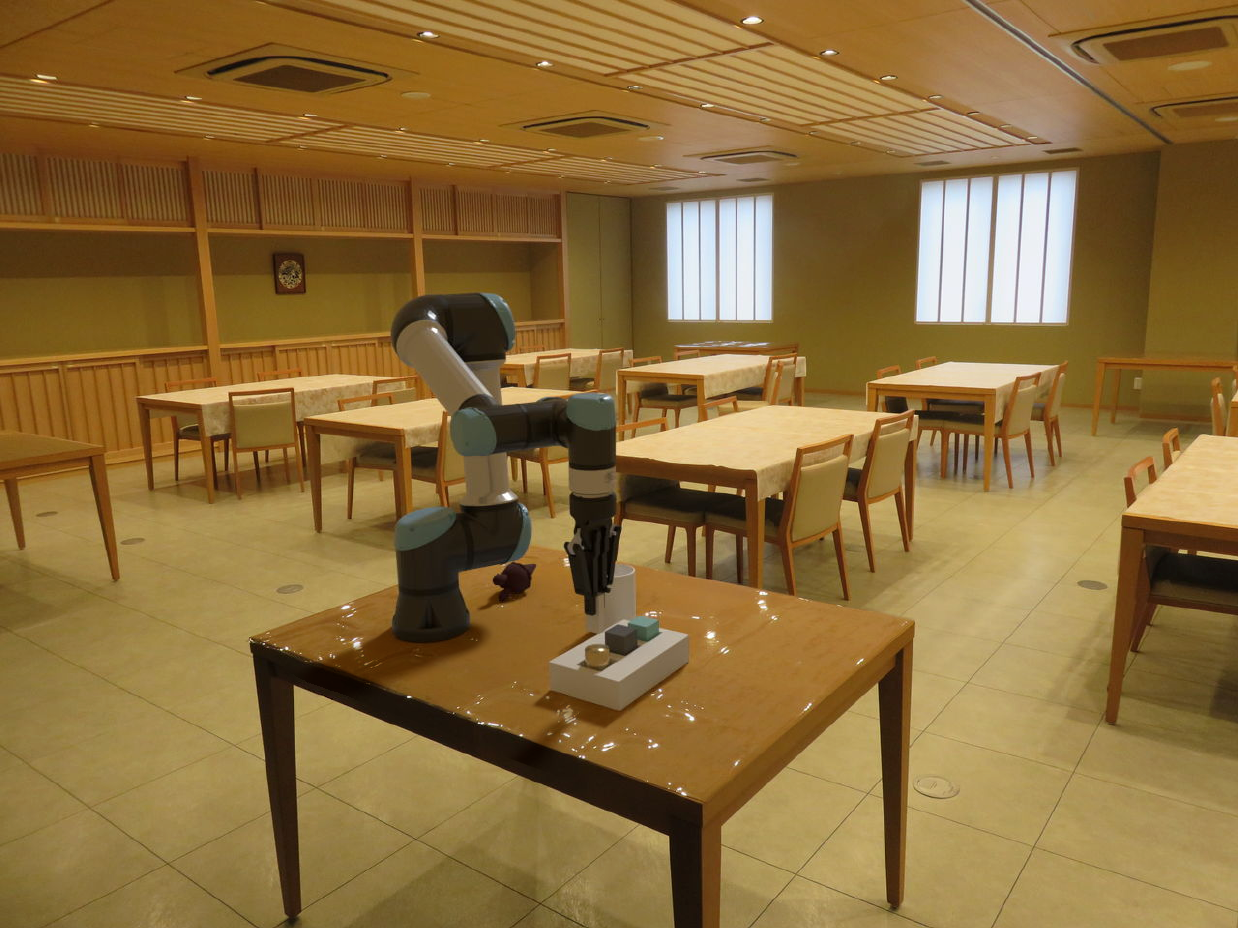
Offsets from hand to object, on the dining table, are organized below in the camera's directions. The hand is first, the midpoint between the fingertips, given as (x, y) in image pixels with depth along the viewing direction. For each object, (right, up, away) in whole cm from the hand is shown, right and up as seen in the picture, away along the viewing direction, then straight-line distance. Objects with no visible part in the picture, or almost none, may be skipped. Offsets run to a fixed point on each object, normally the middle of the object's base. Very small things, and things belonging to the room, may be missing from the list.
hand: (595, 630), depth 148 cm
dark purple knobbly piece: (-18, -1, +50) cm, 53 cm away
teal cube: (+8, -5, +12) cm, 16 cm away
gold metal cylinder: (0, -7, +1) cm, 8 cm away
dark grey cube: (+4, -5, +7) cm, 10 cm away
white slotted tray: (+4, -9, +7) cm, 12 cm away
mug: (+2, -5, +27) cm, 27 cm away
